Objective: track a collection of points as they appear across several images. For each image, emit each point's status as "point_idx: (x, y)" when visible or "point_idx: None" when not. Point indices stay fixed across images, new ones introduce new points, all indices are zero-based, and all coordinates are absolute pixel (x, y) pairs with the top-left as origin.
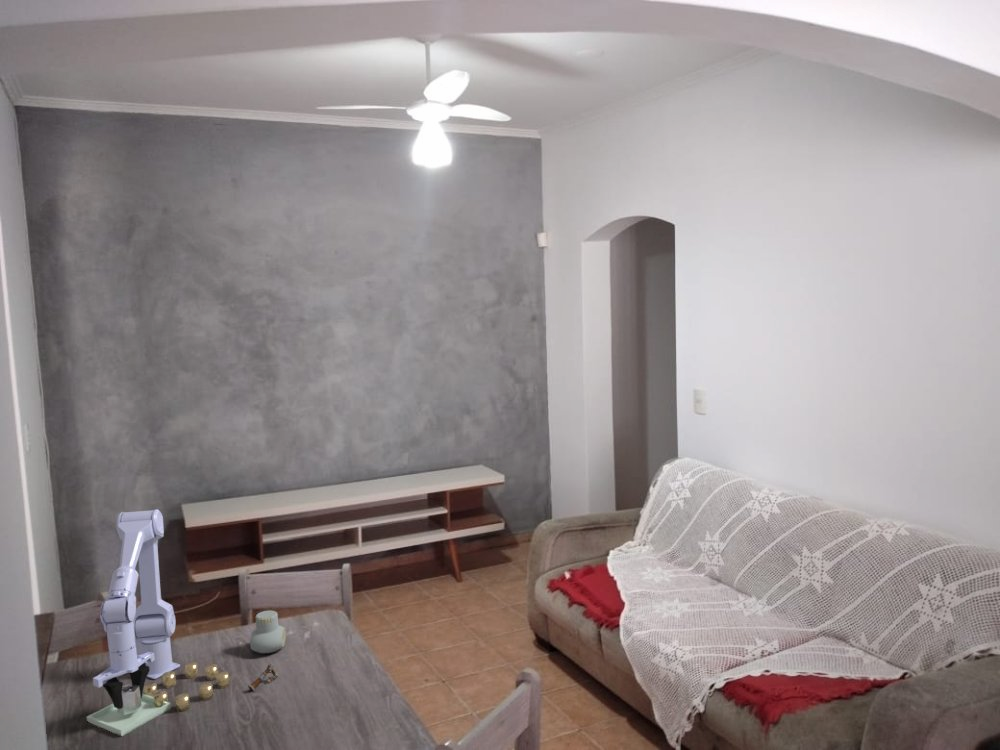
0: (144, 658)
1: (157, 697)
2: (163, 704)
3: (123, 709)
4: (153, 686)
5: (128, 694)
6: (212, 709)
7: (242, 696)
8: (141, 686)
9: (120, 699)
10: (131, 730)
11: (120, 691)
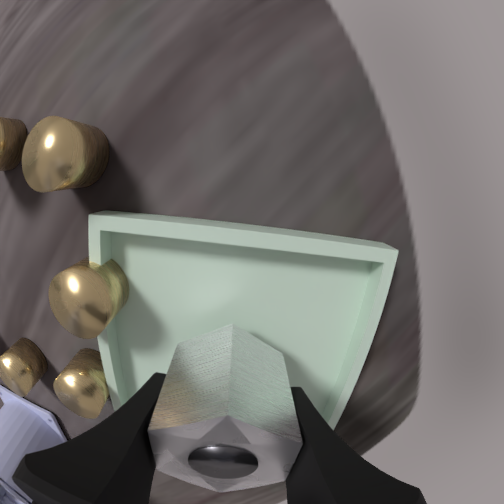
0: None
1: (101, 296)
2: (106, 257)
3: (285, 373)
4: (69, 384)
5: (265, 422)
6: (70, 40)
7: (4, 47)
8: (135, 416)
9: (311, 422)
10: (336, 236)
11: (331, 465)
